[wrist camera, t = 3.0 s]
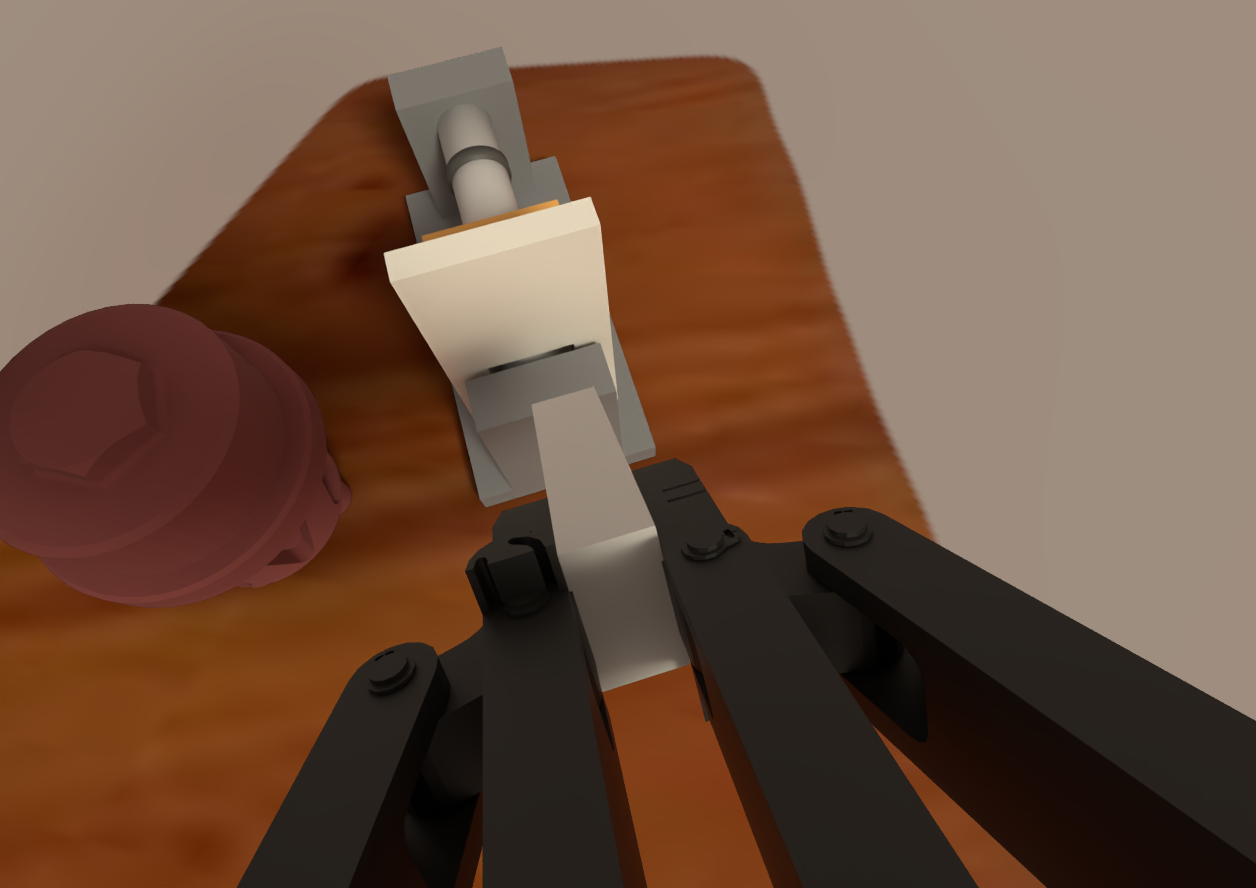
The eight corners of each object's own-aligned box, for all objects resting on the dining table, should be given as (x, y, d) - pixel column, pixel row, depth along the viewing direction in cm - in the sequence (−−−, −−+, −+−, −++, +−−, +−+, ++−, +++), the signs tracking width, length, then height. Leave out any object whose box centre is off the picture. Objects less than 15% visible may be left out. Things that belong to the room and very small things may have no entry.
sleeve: (617, 398, 31) (600, 224, 20) (485, 437, 31) (389, 282, 19) (592, 322, 33) (562, 118, 21) (465, 359, 32) (365, 170, 21)
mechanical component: (261, 678, 30) (124, 524, 32) (436, 505, 32) (296, 373, 35) (14, 661, 18) (-168, 423, 21) (316, 392, 21) (120, 207, 23)
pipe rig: (655, 455, 33) (657, 378, 25) (485, 507, 32) (434, 444, 24) (557, 172, 38) (535, 38, 31) (412, 211, 38) (352, 84, 30)
